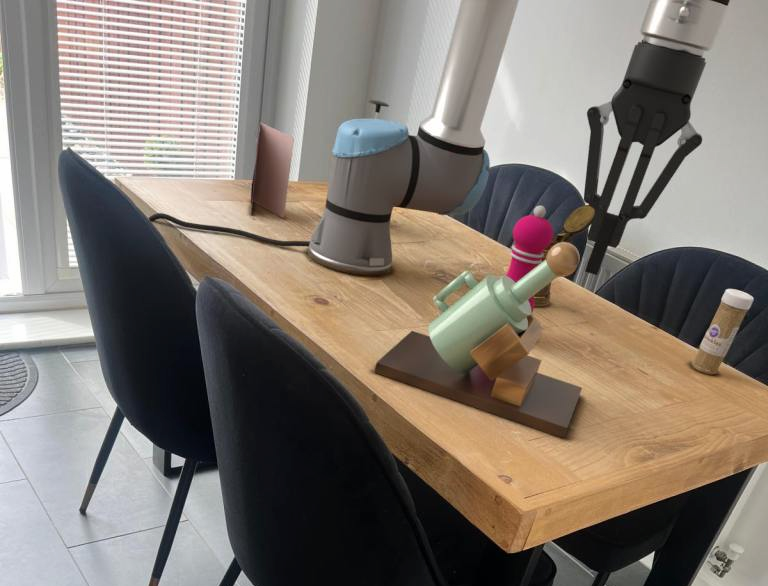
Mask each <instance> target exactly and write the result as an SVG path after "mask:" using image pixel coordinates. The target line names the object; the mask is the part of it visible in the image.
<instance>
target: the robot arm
mask: <svg viewBox="0 0 768 586" xmlns="http://www.w3.org/2000/svg"><path fill="white" fill-rule="evenodd" d="M519 1H520V0H460V3H459V5H458V6H459V7H458V10H457V15H456V18H455V22H454V27H453V28H452V29H453V30H452V34H451V36H450V37H451V38H450V41H449V45H448V49H447V53H446V57H445V60H444V63H443V64H444V65H443V69H442V73H441V75H440V76H441V77H440V80H439V84H438V88H437V92H436V96H435V98H434V99H435V100H434V103H433V107H432V111H431V114H430V115H429V116H427V117H425V118H424V119H422V120H420V122H419V126H418V130H417V134H416V135H411V134H410V132H409V128H408V126H407V125H406V124H403V123H402V122H397V121H394V120H386V119H381V118H380V119H379V118H377V119H375V118H353V119H349V120H346V121H344V122H342V123H341V124H340V126H339V127H338V129H337V133H336V137H335V141H334V145H333V148H332V159H331V166H330V173H329V174H330V175H329V179H328V180H329V181H328V187H327V193H326V199H325V206H324V211H323V213H322V215H321V217H320V219H319V221H318V223H317V225H316V228H315V230H314V232H313V233H312V235H311V238H310V240H305V241H304V240H279V239H278V240H277V239H273V238H268V237H265V236H262V235H258V234H255V233H253V232H249V231H245V230H241V229H236V228H232V227H227V226H225V227H224V226H219V225H208V224H203V223H201V224H200V223H194V222H188V221H184V220H181V219H178V218H176V217H175V216H172V215H169V214H166V213H164V212H163V213H162V212H157V213H154V214H151V215H150V216H149V217H148V218H149V220H150V221H149V222H154V221H157V220H166V221H169V222H171V223H173V224H175V225H177V226H179V227H183V228H187V229H193V230H201V231H209V232H218V233H223V234H224V233H226V234H232V235H237V236H241V237H245V238H248V239H251V240H254V241H258V242H261V243H264V244H268V245H272V246H277V247H278V246H279V247H308V248H307V254H308V256H309V258H311V259H312V260H313V261H314V262H316V263H318V264H319V265H322V266H324V267H327V268H329V269H332V270H336V271H339V272H342V273H347V274H352V275H358V276H382V275H386V274H387V273H389V272H390V271H391V268H392V264H393V250H392V240H391V239H392V238H391V230H390V228H391V227H390V225H391V224H390V223H391V218H392V213H393V210H394V208H399V209H406V210H412V211H419V212H427V213H434V214H437V215H440V216H447V215H448V216H449V215H450V216H463V215H465V214H468V212H470V211H472V209H474V208H475V206H476V205H477V204H478V203H479V202H480V200H481V197H482V196H483V193H485V189H486V186H487V183H488V181H489V176H490V172H489V169H490V168H491V162H490V161H491V160H490V156H489V154H488V152H487V150H486V149H484V148H485V145H486V139H485V137H484V135H483V133H482V131H481V128H482V124H483V121H484V118H485V115H486V111H487V107H488V104H489V101H490V99H491V94H492V91H493V89H494V84H495V81H496V77H497V74H498V71H499V68H500V64H501V61H502V58H503V55H504V51H505V48H506V45H507V41H508V38H509V35H510V31H511V28H512V25H513V22H514V17H515V15H516V11H517V8H518V4H519ZM730 1H731V0H649V3H648V6H647V8H646V12H645V15H644V17H643V21H642V23H641V27H640V30H639V33H640V35H641V36H643V39H641V41H638V42H637V44H635V45H634V47H633V50H632V54H631V57H630V58H629V59H630V60H629V62H628V66H627V68H626V71H625V74H624V77H623V80H622V82H621V85H620V87H619V88H618V90H617V91H616V92H614V94H613V95H612V98H611V100H610V101H608V102H605V103H603V104H600V105H594V106H590V107H589V108H588V110H587V111H586V117H587V121H588V126H589V130H590V133H589V134H590V135H589V144H588V153H587V163H586V172H585V180H584V181H585V182H584V191H583V201H584V203H586V204H587V205H590V206H592V207H593V208H594V210H595V215H594V218H593V221H592V224H591V225H590V226H589V230H588V232H587V241H589V242H594V244H593V247H592V250H591V253H590V256H589V258H588V262H587V264H586V267H585V270H584V273H589V274H592V275H595V276H598V274H599V272H600V270H601V266H602V264H603V261H604V258H605V256H606V253H607V250H608V248H609V247H610V248H613V249H616V248H617V247H618V246H619V245H620V243H621V241H622V238H623V235H624V233H625V229H626V227H627V224H628V222H630V221H631V220H637V219H639V220H643V219H645V218H646V217H647V216H648V215H649V213H650V212H651V210H652V208H653V207H654V205H655V204H656V202H657V201H658V200H659V198H660V196H661V195H662V194H663V192H664V190H665V189H666V188H667V185H669V183H670V181H671V180H672V178H673V177H674V175H675V173H677V171H678V169H679V168H680V166H681V164H682V163H683V162H684V160H685V159H686V157H688V156H689V155H690V154H691V153H692V152H694V151H695V150H696V149H697V148H699V147H700V146H701V144H702V142H703V136H702V134H701V133H699V132H698V131H697V130H696V129H695V128H694V126H693V125H692V123H691V122H690V119H691V115H692V112H691V103H692V101H693V99H694V95H695V93H696V91H697V89H698V85H699V82H700V80H701V79H702V76H703V73H704V70H705V68H706V65H707V61H706V58H705V57H704V53H705V52H709V51H711V50H712V49H713V47H714V45H715V41H716V39H717V37H718V34H719V31H720V28H721V26H722V23H723V21H724V19H725V15H726V13H727V10H728V8H729V3H730ZM611 113H612V114H613V117H614V121H615V125H616V128H617V133H618V135H619V137H620V140H619V142H618V145H617V149H616V152H615V154H614V158H613V160H612V163H611V165H610V169H609V171H608V175H607V177H606V180H605V183H604V186H603V189H602V191H601V194H598V189H599V178H600V169H601V161H602V152H603V144H604V143H603V142H604V135H605V134H604V133H605V129H604V128H605V127H604V126H606V125H608V123H609V121H610V115H611ZM680 130H681V134H680V135H679V137H678V139H677V145H678V147H677V148H676V150H675V151H674V152H673V154H671V155H672V156H671V157H670V159H669V160H668V161H667V163H666V165H665V166H664V168H663V169H662V171H661V172H660V174H659V176H658V177H657V178H656V180H655V182H653V185H652V186H651V188H650V189H649V191H648V192H647V194H646V195H645V197H644V198H643V200H642V202H641V203H640V205H635V203H636V200H637V197H638V196H639V192H640V191H641V190H640V189H641V186H642V184H643V182H644V179H645V176H646V173H647V171H648V168H649V165H650V162H651V160H652V158H653V155H654V152H655V149H656V148H657V147H660V146H661V145H662V144H664V143H665V142H666V141H667V140H669V139H670V138H672V137H673V136H674V135H676V133H678V132H679V131H680ZM633 143H639V144H641V145H642V149H641V152H640V154H639V157H638V160H637V163H636V166H635V168H634V171H633V175H632V176H631V179H630V182H629V185H628V187H627V190H626V193H625V196H624V199H623V200H622V205H621V207H620V209H619V213H618V215H617V214H615V213H611V212H608V211H609V209H610V205H611V204H612V200H613V197H614V195H615V192H616V189H617V186H618V183H619V181H620V178H621V175H622V172H623V170H624V167H625V165H626V161H627V159H628V156H629V153H630V150H631V148H632V145H633ZM129 425H130V426H133V425H132V424H131V423H130V424H129Z"/></svg>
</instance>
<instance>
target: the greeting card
mask: <svg viewBox="0 0 768 586" xmlns="http://www.w3.org/2000/svg"><path fill="white" fill-rule="evenodd" d="M254 133H255V135H257V133H256V131H254ZM255 139H256V141H255V142H256V144H257V146H256V153H255V154H256V155H255V163H254V169H253V174H252V181H251V189H250V206H251V210H253V209H252V208H253V202H254V203H256V204H257V205H259V206H261V207H262V208H265V209H266V210H268V211H270V212H272V213H273V214H275V215H276V216H279V217H280V218H282V219H284V218H285V213H286V206H287V198H288V197H287V196H288V189H289V188H288V187H289V182H290V181H289V180H290V173H291V172H290V171H291V164H292V157H293V149H294V148H293V147H294V140H295V137H293V136H291V135H289V134H287V133H285V132H283V131H281V130H279V129H276V128H274V127H271V126H269V125H267V124H264V123H262V122H259V130H258V136H255Z"/></svg>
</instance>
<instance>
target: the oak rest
mask: <svg viewBox="0 0 768 586" xmlns="http://www.w3.org/2000/svg"><path fill="white" fill-rule="evenodd" d="M527 320H528V328H527V329H526V330H525V331H524V332H522V333H521V334H520V335H517V334H516V332H515V331H514V330H513V328H512V327H511V326H510V325H509V323H507V324H506V325H505V326H503V327H502V328H501V329H499V330H498V331H497V332H495V333H494V334H493V335H491V336H490V337H489V338H488V339H486V340H485V341H484V342H482V343H481V344H480V345H478V346H477V347H476V348H474V349H473V350H472V351H471V352H470V354H471V356H472V357H473V358H474V359H475V361H476V362H477V363H478V364H479V366H480V367H481V368H482V370H483V371H484V372H485V373H486V375H487V376H488V377H489V378H490V380H491V381H492V380H493V379H495V378H496V377H497V378H496V381H495V384H494V388H493V391H492V394H491V397H493V398H496V399H499V400H502V401H504V402H507V403H510V404H513V405H516V406H519V407H520V406H521V404H522V402H523V400H524V399H525V397H526V395H527V393H528V391H529V389H530V387H531V385H532V384H533V382H534V380H535V378H536V375H537V373H539V369H540V366H541V364H542V359H539V358H537V357H534V356H531V355H529V354H530V353H531V351H532V349H533V347H534V346H535V344H536V342H537V341H538V339H539V338H540V336H541V335H542V332H543V331H544V330H545V329H544V326H542V325H541V322H540V321H539V320H538V319H537V318H536V316H535V315H534V313H532V312H531V315H529V316H528V317H527Z"/></svg>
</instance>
